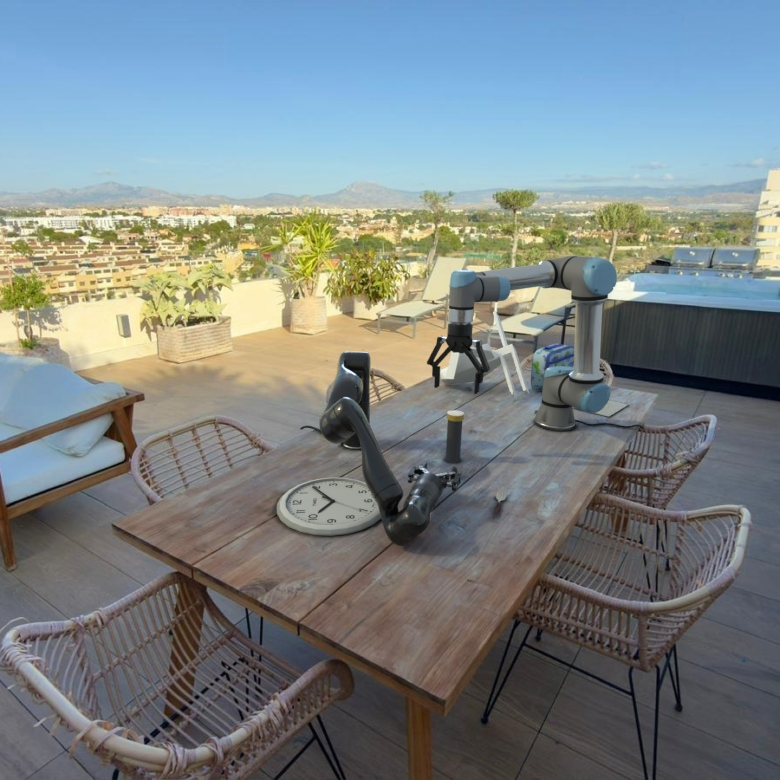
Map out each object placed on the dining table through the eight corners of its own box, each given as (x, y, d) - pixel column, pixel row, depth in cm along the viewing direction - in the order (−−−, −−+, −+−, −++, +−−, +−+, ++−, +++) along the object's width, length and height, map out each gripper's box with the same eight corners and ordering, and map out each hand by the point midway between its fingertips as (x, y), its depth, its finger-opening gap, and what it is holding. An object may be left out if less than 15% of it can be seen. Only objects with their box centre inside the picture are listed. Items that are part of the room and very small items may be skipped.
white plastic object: (461, 429, 252) (437, 405, 227) (444, 352, 274) (420, 323, 250) (535, 404, 240) (518, 377, 215) (510, 326, 262) (492, 293, 237)
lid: (467, 420, 167) (467, 414, 166) (452, 422, 164) (453, 416, 164) (457, 414, 171) (457, 409, 171) (443, 417, 169) (443, 411, 168)
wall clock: (392, 527, 129) (268, 531, 127) (391, 533, 130) (269, 537, 127) (383, 473, 158) (282, 475, 155) (383, 478, 158) (282, 480, 156)
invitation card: (608, 416, 214) (573, 407, 224) (608, 416, 214) (573, 408, 224) (628, 404, 229) (594, 396, 238) (628, 405, 229) (594, 397, 238)
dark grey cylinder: (462, 461, 171) (465, 415, 166) (450, 464, 169) (453, 417, 164) (454, 455, 175) (457, 411, 170) (442, 458, 173) (445, 413, 168)
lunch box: (547, 395, 239) (552, 351, 233) (526, 390, 247) (530, 347, 240) (574, 384, 257) (579, 343, 251) (554, 380, 264) (558, 339, 258)
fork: (488, 519, 137) (488, 512, 136) (497, 492, 151) (498, 485, 151) (498, 521, 136) (498, 514, 135) (507, 493, 150) (507, 487, 150)
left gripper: (399, 500, 141) (416, 474, 156) (451, 510, 137) (463, 482, 151) (400, 475, 139) (417, 451, 153) (452, 484, 134) (465, 459, 149)
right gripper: (503, 324, 157) (497, 392, 163) (427, 317, 167) (424, 381, 173) (497, 328, 150) (491, 398, 157) (418, 320, 160) (415, 387, 167)
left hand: (440, 467), depth 152 cm, fingers open, 8 cm apart
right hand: (456, 389), depth 165 cm, fingers open, 12 cm apart
